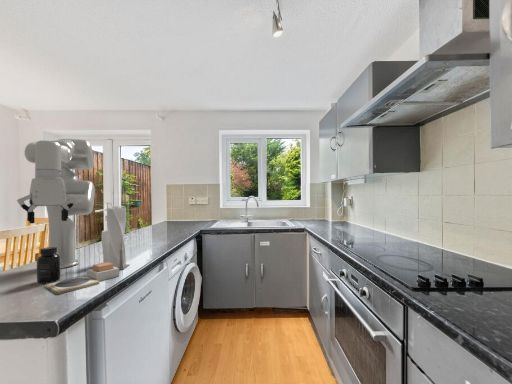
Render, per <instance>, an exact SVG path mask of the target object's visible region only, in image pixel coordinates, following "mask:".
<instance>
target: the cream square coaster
mask: <svg viewBox="0 0 512 384" xmlns="http://www.w3.org/2000/svg"><path fill="white" fill-rule="evenodd" d="M44 285H45V286H44V287H45V288H46V289H48V290H50V291H51V292H53V293H55V294H57V295H61V294H64V293H65V294H66V293H69V292H73V291H74V292H75V291H77V290H81V289H84V288H85V289H86V288H88V287H93V286H96V285H100V281H97V280H94V279H92V278H89V277H87V275H81V276H78V277H72V278H69V279H64V280H58V281H55V282H50V283H45V284H44Z"/></svg>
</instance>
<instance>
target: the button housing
mask: <svg viewBox="0 0 512 384" xmlns="http://www.w3.org/2000/svg"><path fill="white" fill-rule="evenodd" d="M86 276H87V277H89V278H92V279H94V280H97V281H99V282H102V281H105V280H110V279H113V278H116V277H120V270H119V268H117V267H114V266H113V269H111V270H106V271H102V272H97V271H94V270H93V268H91V269H90V268H89V269H87V270H86Z"/></svg>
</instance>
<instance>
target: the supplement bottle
mask: <svg viewBox="0 0 512 384" xmlns="http://www.w3.org/2000/svg"><path fill="white" fill-rule="evenodd" d="M39 250H40V251H39V252H40V253H39V254H40V255H39V256H38V257H37V259H36V282H37V283H38V284H41V285H42V284H50V283H55V282H58V281H60V279H61V268H60V255H58V254H56V252H57V247H49V246H48V247H43V248H40V249H39Z"/></svg>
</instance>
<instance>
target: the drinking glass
mask: <svg viewBox="0 0 512 384" xmlns="http://www.w3.org/2000/svg"><path fill="white" fill-rule="evenodd" d="M109 241H110V240H109V236H108V230H107V229H104V230H102V231H101V246H102V247H101V248H102V257H103V260H102V261H103V262H102V263H104V262H108V251H109Z"/></svg>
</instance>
